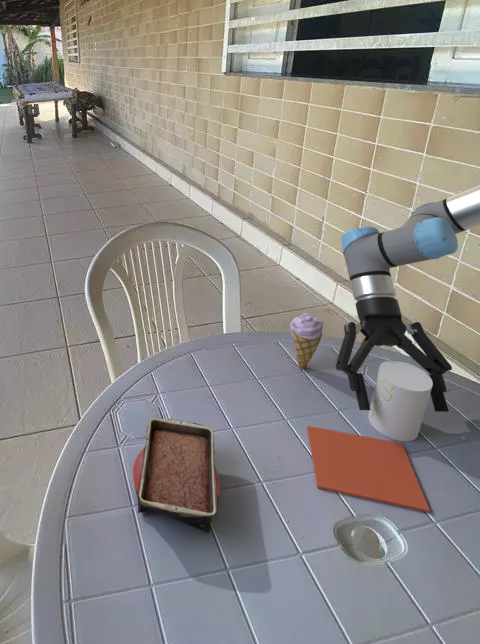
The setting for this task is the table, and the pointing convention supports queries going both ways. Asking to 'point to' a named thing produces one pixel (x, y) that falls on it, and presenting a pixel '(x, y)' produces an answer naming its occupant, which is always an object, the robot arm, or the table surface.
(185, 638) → the table surface
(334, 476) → the mat
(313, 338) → the ice cream cone
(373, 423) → the cup
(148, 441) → the baking dish
